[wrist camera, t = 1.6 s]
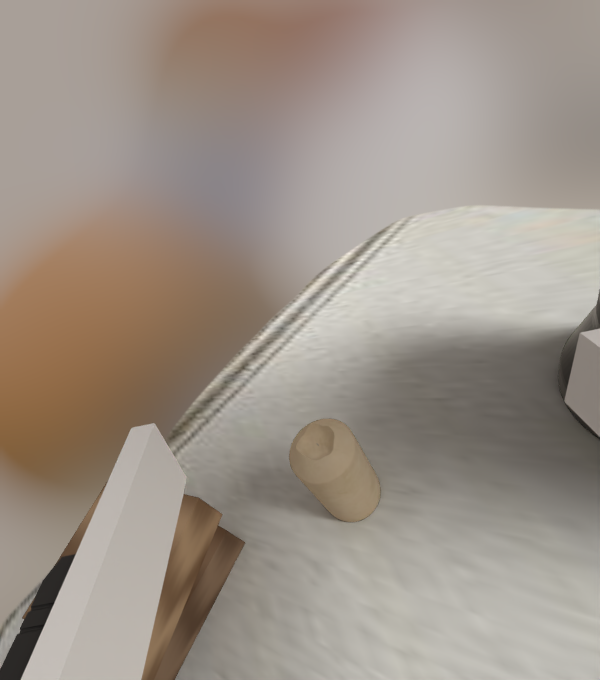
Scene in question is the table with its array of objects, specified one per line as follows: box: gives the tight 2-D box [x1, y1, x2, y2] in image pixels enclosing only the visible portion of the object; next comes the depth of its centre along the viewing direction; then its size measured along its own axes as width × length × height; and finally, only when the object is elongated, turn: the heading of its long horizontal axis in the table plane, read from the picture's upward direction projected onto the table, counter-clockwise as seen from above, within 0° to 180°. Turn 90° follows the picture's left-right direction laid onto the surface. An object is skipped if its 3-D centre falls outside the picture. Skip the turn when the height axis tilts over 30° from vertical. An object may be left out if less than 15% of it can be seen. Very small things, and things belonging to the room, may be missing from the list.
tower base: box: [154, 526, 245, 680], centre depth 35 cm, size 12×12×4 cm
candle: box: [289, 419, 381, 522], centre depth 31 cm, size 6×6×10 cm
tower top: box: [22, 479, 222, 680], centre depth 32 cm, size 12×12×4 cm
